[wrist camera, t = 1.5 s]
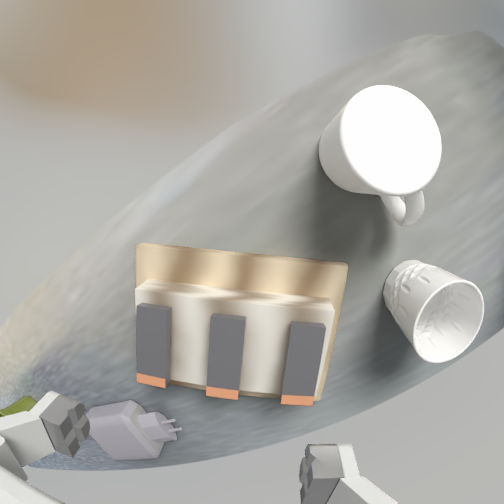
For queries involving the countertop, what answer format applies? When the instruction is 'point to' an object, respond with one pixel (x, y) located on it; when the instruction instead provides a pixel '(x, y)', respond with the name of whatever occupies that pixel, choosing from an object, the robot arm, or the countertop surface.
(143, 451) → the charger
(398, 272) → the white cup
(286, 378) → the rocker
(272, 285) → the switch panel
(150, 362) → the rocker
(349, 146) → the mug
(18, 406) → the plant pot
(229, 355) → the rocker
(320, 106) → the countertop surface
